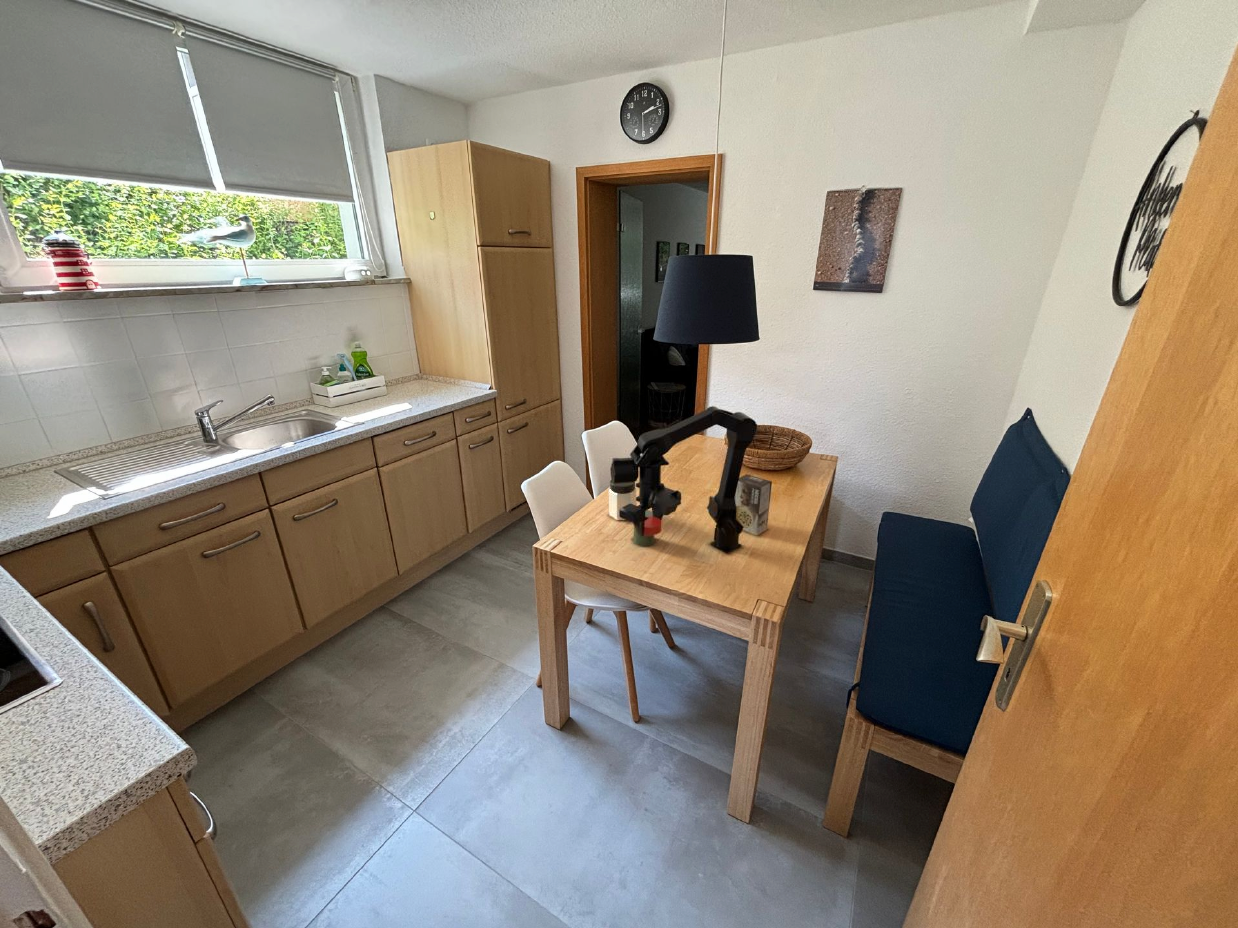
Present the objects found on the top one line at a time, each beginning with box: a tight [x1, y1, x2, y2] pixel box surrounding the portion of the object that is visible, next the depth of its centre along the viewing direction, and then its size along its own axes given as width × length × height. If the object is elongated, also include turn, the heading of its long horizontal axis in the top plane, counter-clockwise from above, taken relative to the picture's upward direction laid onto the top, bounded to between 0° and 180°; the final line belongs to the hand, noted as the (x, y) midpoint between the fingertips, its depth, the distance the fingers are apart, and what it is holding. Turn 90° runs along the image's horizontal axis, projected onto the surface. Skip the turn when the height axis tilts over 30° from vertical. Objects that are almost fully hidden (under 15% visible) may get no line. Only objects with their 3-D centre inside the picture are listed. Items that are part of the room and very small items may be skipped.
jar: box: [608, 480, 637, 521], centre depth 162 cm, size 9×8×12 cm
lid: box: [644, 516, 663, 536], centre depth 137 cm, size 7×7×2 cm
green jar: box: [633, 509, 655, 547], centre depth 147 cm, size 6×6×9 cm
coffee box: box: [735, 473, 773, 536], centre depth 152 cm, size 9×6×16 cm
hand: (649, 531), depth 138 cm, fingers closed on lid, 6 cm apart
